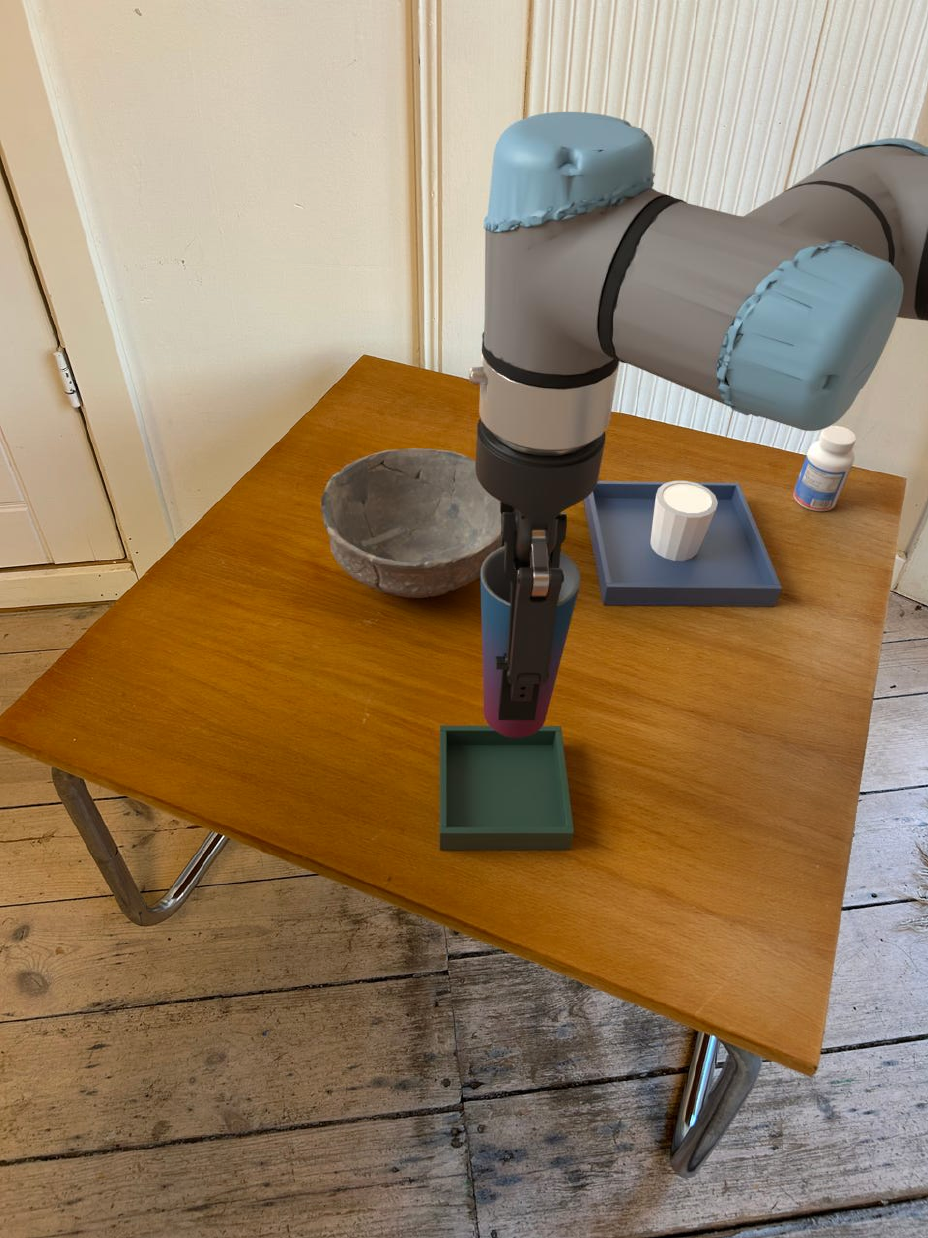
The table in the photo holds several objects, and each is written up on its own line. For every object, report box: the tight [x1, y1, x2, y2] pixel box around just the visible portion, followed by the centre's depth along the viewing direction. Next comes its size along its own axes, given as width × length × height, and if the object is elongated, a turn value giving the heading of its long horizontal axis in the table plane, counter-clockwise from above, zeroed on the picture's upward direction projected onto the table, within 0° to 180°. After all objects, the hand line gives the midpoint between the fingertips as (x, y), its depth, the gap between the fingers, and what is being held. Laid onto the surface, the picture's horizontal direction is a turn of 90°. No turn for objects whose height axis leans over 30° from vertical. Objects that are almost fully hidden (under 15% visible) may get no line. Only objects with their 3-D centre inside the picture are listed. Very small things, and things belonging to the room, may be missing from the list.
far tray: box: [583, 480, 783, 608], centre depth 101 cm, size 19×19×3 cm
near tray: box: [438, 725, 575, 851], centre depth 76 cm, size 11×11×3 cm
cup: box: [480, 546, 582, 738], centre depth 64 cm, size 7×7×15 cm
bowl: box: [320, 447, 501, 599], centre depth 95 cm, size 21×21×10 cm
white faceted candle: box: [650, 480, 718, 561], centre depth 99 cm, size 7×7×7 cm
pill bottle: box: [793, 425, 857, 512], centre depth 106 cm, size 6×5×10 cm
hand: (513, 681), depth 66 cm, fingers closed on cup, 6 cm apart
